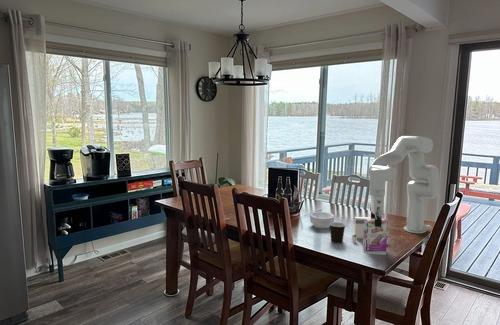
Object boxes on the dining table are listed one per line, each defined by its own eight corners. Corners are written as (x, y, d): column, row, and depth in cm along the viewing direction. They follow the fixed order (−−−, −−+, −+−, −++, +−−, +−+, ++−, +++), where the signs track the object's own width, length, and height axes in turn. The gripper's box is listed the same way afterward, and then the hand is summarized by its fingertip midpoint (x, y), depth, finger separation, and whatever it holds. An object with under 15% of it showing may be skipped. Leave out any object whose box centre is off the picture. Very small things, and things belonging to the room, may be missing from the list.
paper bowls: (332, 231, 212) (332, 219, 211) (308, 228, 216) (308, 216, 215) (334, 224, 226) (335, 212, 225) (311, 222, 231) (312, 210, 230)
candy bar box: (366, 251, 177) (367, 221, 175) (362, 248, 182) (363, 218, 180) (386, 251, 178) (388, 220, 176) (382, 247, 183) (384, 218, 180)
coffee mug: (333, 237, 200) (333, 221, 199) (347, 240, 195) (347, 224, 193) (324, 243, 191) (324, 226, 190) (338, 246, 186) (338, 229, 184)
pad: (381, 247, 184) (382, 246, 184) (386, 254, 174) (386, 253, 174) (362, 247, 185) (362, 246, 185) (366, 253, 176) (366, 252, 176)
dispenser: (382, 237, 200) (383, 217, 198) (387, 244, 189) (388, 223, 187) (350, 236, 203) (350, 216, 201) (353, 242, 191) (353, 222, 190)
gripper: (388, 196, 167) (387, 229, 169) (380, 188, 184) (379, 218, 186) (372, 195, 168) (371, 228, 170) (366, 188, 185) (365, 218, 187)
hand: (375, 223), depth 178 cm, fingers open, 9 cm apart
